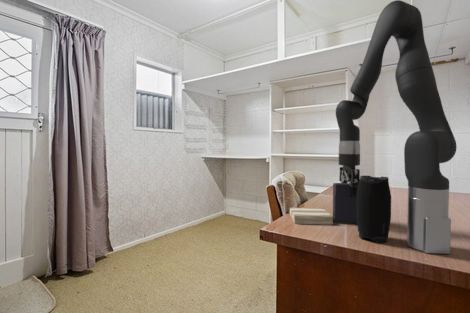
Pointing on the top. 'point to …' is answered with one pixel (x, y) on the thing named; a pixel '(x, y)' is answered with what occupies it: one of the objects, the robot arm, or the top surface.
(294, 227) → the top surface
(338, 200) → the black rectangular block
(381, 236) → the portable speaker
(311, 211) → the birch plinth
